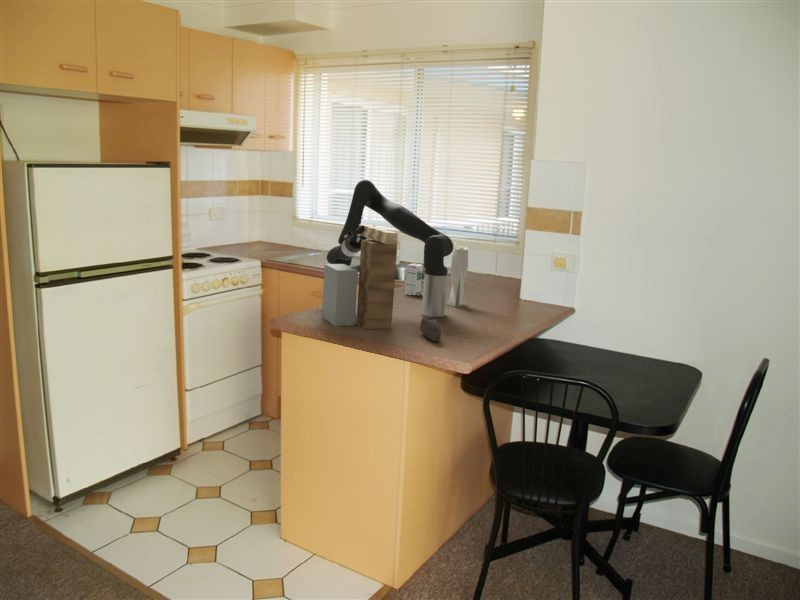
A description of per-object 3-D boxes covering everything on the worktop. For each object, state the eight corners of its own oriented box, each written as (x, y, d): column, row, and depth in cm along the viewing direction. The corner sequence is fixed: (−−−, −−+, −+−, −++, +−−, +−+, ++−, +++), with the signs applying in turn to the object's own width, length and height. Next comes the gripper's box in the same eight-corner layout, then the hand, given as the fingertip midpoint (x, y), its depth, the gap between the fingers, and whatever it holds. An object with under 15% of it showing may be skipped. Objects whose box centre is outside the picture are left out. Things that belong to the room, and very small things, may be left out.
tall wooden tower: (356, 322, 257) (361, 239, 250) (380, 321, 261) (385, 239, 255) (367, 329, 248) (372, 243, 241) (391, 328, 252) (397, 243, 246)
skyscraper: (442, 304, 302) (447, 242, 296) (453, 302, 308) (459, 241, 302) (457, 307, 296) (463, 244, 290) (468, 305, 302) (474, 243, 296)
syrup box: (415, 296, 315) (417, 265, 312) (404, 294, 318) (406, 264, 315) (421, 294, 319) (423, 264, 316) (410, 292, 322) (412, 263, 319)
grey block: (322, 317, 262) (324, 264, 257) (341, 316, 265) (343, 263, 261) (334, 326, 250) (337, 270, 245) (354, 325, 253) (357, 270, 249)
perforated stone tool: (444, 344, 235) (445, 325, 234) (429, 344, 234) (431, 325, 233) (432, 333, 249) (433, 315, 248) (418, 333, 248) (420, 315, 247)
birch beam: (358, 234, 260) (358, 224, 259) (367, 234, 262) (368, 224, 261) (386, 244, 237) (387, 232, 236) (397, 244, 239) (397, 233, 238)
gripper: (335, 235, 268) (350, 218, 253) (367, 235, 274) (384, 218, 260) (337, 253, 266) (353, 236, 251) (370, 253, 272) (387, 236, 258)
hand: (369, 227), depth 255 cm, fingers closed on birch beam, 4 cm apart
